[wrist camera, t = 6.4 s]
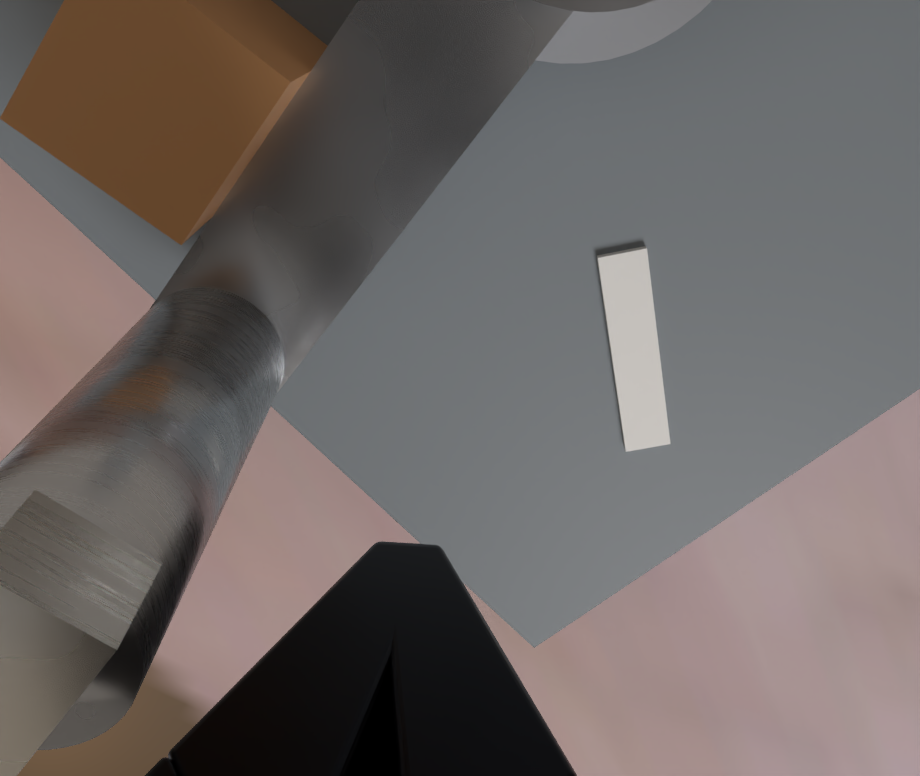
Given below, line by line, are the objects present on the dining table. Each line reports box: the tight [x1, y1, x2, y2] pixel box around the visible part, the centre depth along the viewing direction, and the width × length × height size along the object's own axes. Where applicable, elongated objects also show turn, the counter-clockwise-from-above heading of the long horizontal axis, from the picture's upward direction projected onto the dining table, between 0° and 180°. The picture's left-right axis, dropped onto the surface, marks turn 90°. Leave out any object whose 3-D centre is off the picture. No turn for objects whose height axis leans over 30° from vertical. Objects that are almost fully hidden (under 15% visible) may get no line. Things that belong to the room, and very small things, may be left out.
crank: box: [0, 0, 654, 776], centre depth 7 cm, size 10×3×7 cm, turn 142°
